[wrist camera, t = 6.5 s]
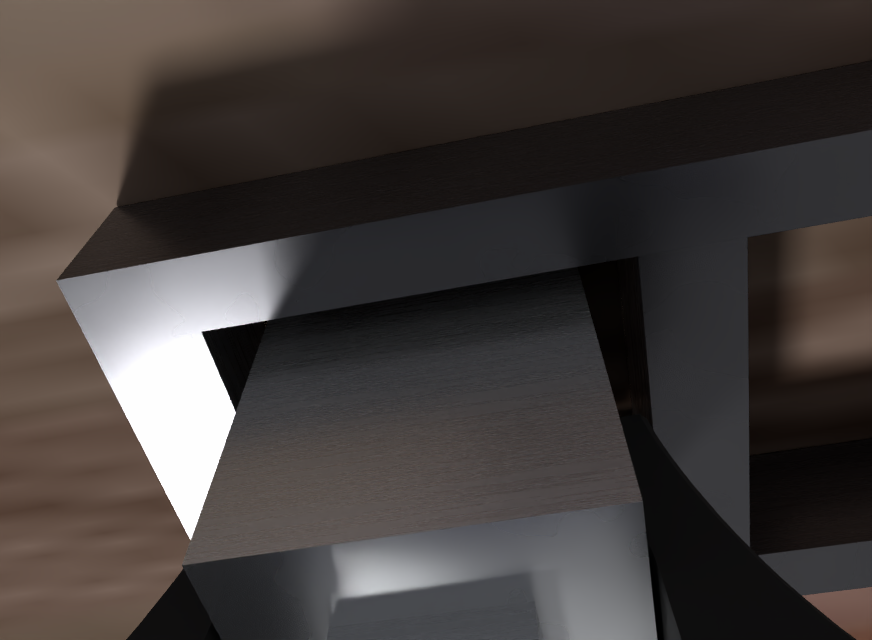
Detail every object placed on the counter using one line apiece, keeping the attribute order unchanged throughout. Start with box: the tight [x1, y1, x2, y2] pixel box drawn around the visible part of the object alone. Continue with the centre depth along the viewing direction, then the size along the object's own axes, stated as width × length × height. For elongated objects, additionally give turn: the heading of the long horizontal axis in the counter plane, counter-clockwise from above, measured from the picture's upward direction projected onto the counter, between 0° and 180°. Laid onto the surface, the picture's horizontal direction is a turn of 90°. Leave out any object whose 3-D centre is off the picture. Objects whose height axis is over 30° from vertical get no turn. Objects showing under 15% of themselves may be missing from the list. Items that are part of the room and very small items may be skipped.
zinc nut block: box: [182, 267, 657, 640], centre depth 12 cm, size 5×5×6 cm
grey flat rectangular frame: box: [56, 61, 872, 595], centre depth 14 cm, size 18×9×2 cm, turn 102°
